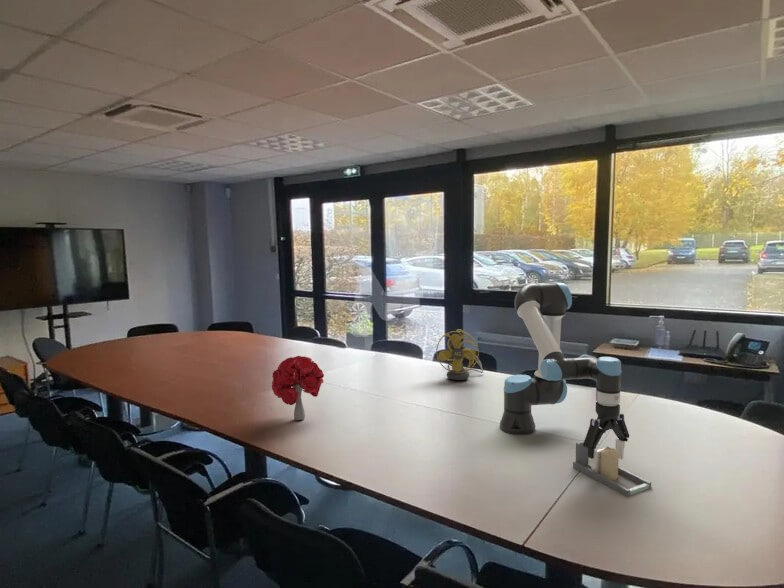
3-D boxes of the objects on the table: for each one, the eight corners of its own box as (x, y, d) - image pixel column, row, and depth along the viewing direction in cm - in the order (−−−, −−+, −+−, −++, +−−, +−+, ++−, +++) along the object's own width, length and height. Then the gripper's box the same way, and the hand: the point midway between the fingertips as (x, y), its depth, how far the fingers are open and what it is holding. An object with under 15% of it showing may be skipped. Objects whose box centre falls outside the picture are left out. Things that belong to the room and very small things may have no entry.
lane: (572, 467, 164) (573, 443, 163) (595, 460, 168) (596, 436, 167) (627, 496, 144) (628, 469, 143) (651, 488, 149) (652, 461, 148)
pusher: (590, 473, 158) (591, 451, 158) (607, 468, 162) (608, 446, 161) (593, 474, 157) (594, 453, 156) (610, 469, 161) (610, 448, 160)
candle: (597, 472, 159) (598, 445, 158) (612, 472, 159) (613, 444, 158) (604, 480, 154) (605, 452, 153) (620, 480, 154) (621, 452, 153)
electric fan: (435, 379, 274) (434, 330, 271) (445, 365, 304) (445, 321, 301) (478, 382, 265) (478, 332, 262) (485, 368, 296) (485, 323, 292)
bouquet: (299, 430, 202) (296, 365, 198) (263, 420, 214) (260, 358, 211) (331, 415, 220) (329, 354, 216) (296, 406, 232) (293, 349, 229)
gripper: (590, 412, 146) (589, 475, 149) (642, 399, 157) (639, 458, 159) (572, 405, 153) (571, 465, 155) (622, 393, 164) (621, 450, 166)
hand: (606, 462), depth 157 cm, fingers open, 13 cm apart
